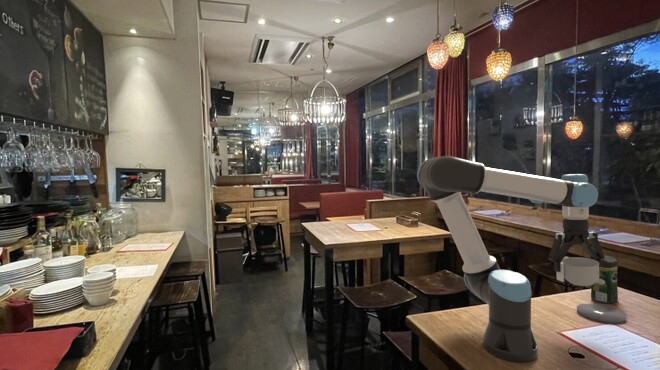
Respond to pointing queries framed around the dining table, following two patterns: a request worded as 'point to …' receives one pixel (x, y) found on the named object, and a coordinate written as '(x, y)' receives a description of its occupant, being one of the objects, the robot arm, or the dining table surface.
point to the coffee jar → (606, 282)
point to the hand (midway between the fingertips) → (576, 279)
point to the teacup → (581, 271)
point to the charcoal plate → (601, 313)
